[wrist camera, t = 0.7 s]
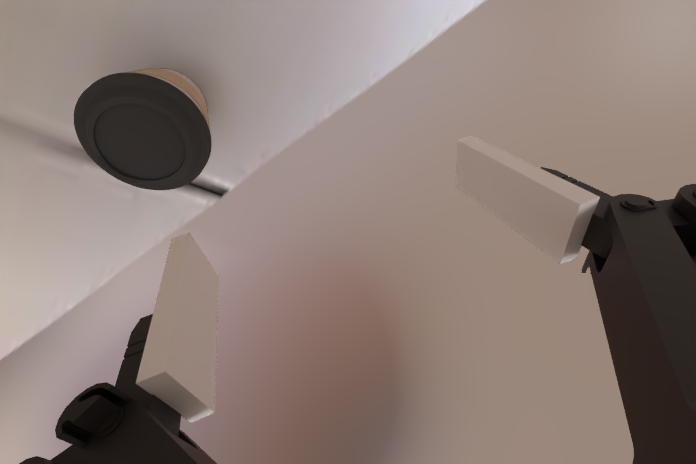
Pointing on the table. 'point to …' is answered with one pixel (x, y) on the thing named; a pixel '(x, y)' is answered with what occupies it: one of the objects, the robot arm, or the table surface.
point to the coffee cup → (145, 127)
